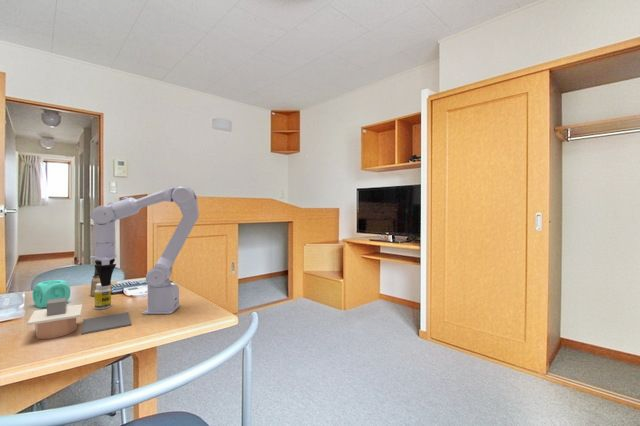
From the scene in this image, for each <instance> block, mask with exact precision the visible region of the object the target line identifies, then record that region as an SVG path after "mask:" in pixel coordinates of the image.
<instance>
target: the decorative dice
mask: <svg viewBox="0 0 640 426" xmlns="http://www.w3.org/2000/svg"><path fill="white" fill-rule="evenodd" d="M70 296H71V287H70V285H69V283H68V282H67V281H66V280H64V279H53V280H52V279H51V280H45V281H41V282H38V283H37V284H36V285H35V286H34V287H33V289H32V300H33V303H34V305H35V306H36V307H37V308H40V309H47V302H48V300H52V299H60V298H67V302H68V301H69V299H70V298H71V297H70Z"/></svg>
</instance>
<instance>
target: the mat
mask: <svg viewBox="0 0 640 426" xmlns="http://www.w3.org/2000/svg"><path fill="white" fill-rule="evenodd" d="M129 313H130V312H129V311H128V312H122V313H121V312H120V313H115V314H110V315H109V314H108V315H103V316H96V317H91V318H84V319H83V320H82V327H81V328H82V329H81V335H88V334H91V333H98V332H102V331H108V330H113V329H114V330H115V329H118V328H119V329H120V328H124V327H130V326H132V322H131V318H130V314H129Z"/></svg>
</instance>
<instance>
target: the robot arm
mask: <svg viewBox="0 0 640 426" xmlns="http://www.w3.org/2000/svg"><path fill="white" fill-rule="evenodd" d="M162 202H170V203H175V204H176V205H177V206H178V207H179V210H180V211H181V214H182V217H181V219H180V220H179V223H178V224H177V227H176V228H175V230H174V231H173V233H172V235H171V237H170V239H169V241H168V243H167V245H166V246H165V248H164V250H163V252H162V253H161V256H160V257H159V258H158V260H157V262H156V263H155V265H154V267H152V268H151V269H150V270H148V271H147V273H146V275H145V282H146V284H147V308H146V310H144V311H143V312H141V314H142V315H161V314H162V315H164V314H167V315H169V314H172V313H174V312H175V311H176V310H177V309H178V308H179V307H180V289H179V288H180V287H179V286H178V285H177V284H172V281H171V280H170V277H172V273H173V271H172V270H173V266H174V264H175V261H176V259H177V257H179V254H180V252H181V250H182V249H183V247H184V244H185V243H186V241H187V239H188V237H189V236H190V234H191V232H192V230H193V228H194V227H195V224H196V223H197V221H198V219H199V216H200V212H199V204H198V203H199V202H198V196H197V195H196V193H195V190H194V189H192V188H190V187H187V186H183V185H181V186H180V185H179V186H177V187H170V188H166V189H162V190H159V191H157V192H154V193H151V194H148V195H146V196H142V197H140V198H134V197H130V196H129V197H128V196H125V197H122V198H121V200H118V201H115V202H107V204H106V205H98V206H96V207H95V208H93V209H92V211H91V212H90V218H91V219H92V222H94V223H93V225H94V226H93V228H94V229H93V231H94V232H93V233H94V234H93V235H94V236H93V238H94V245H93V246H94V247H93V248H94V255H90V257H89V259H90V260H95V261H94V263H95V264H94V269H95V268H96V270H97V272H98V274H99V277H100V282H101V285H102V286H109V285H110V282H111V283H112V276H113V272H114V270H115V268H116V267H117V263H115V261H116V258H117V254H116V221H117V220H122V219H124V218H128V217H130V216H133V215H136V214H139V212H140V210H142V208H145V207H148V206H152V205H155V204H158V203H162Z"/></svg>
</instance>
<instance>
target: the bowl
mask: <svg viewBox="0 0 640 426" xmlns="http://www.w3.org/2000/svg"><path fill="white" fill-rule="evenodd" d="M34 326H35V337H36V338H37V340H38V339H39V340H41V339H42V340H43V339H44V340H45V339H51V340H52V339H55V338H60V337H62V336H66V335H69V334H71V333H74V331H76V330H77V317H76V318H70V319H64V320H57V321H51V322H45V323H39V324H34Z"/></svg>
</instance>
